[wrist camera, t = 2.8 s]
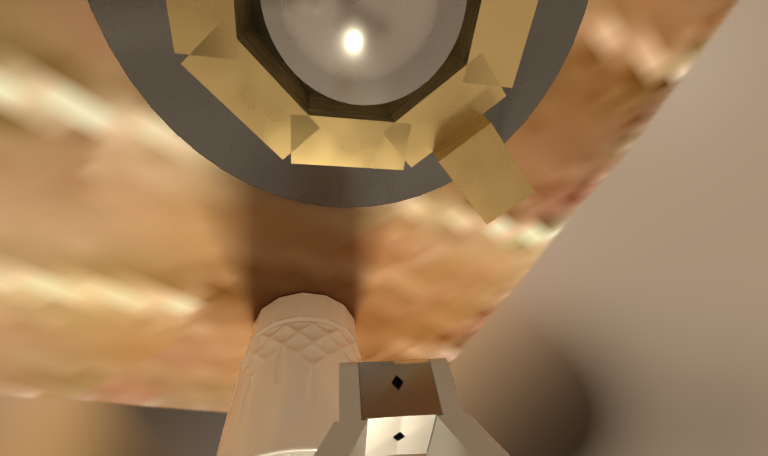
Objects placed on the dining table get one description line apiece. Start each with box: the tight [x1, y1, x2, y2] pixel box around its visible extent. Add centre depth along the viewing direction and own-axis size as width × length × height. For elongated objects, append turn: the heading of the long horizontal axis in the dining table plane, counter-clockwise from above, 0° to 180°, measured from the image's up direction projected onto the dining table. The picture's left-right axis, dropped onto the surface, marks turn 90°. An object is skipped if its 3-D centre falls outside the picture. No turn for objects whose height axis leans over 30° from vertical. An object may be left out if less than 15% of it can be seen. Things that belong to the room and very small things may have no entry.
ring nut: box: [166, 0, 538, 224], centre depth 14 cm, size 16×12×4 cm
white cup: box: [217, 293, 362, 456], centre depth 22 cm, size 8×8×10 cm
